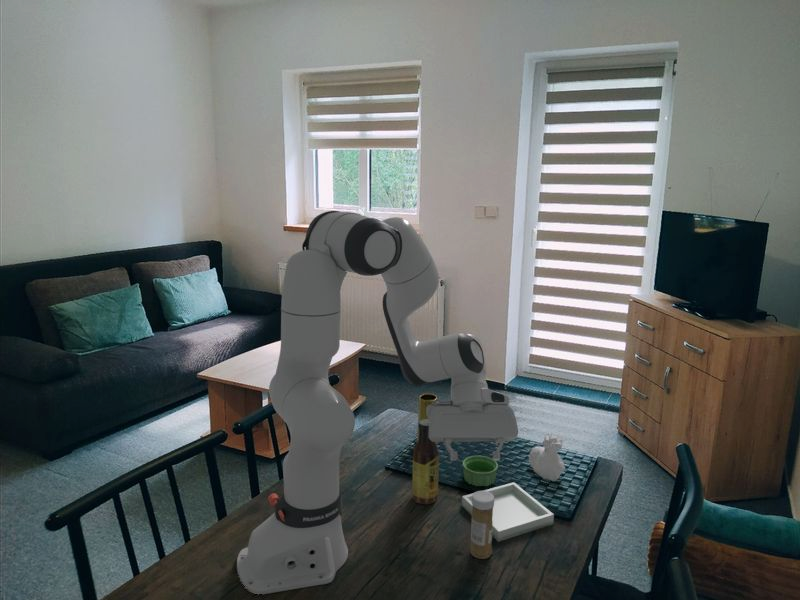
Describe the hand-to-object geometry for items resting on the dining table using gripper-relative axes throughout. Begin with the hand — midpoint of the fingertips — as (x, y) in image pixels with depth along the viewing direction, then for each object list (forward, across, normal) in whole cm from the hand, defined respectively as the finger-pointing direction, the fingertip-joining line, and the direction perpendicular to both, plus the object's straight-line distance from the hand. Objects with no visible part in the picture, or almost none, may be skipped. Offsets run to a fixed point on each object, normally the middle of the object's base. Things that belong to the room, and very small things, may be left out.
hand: (475, 460), depth 132 cm
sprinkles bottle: (+19, 0, +4) cm, 19 cm away
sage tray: (+9, +8, +13) cm, 18 cm away
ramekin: (-2, +5, +24) cm, 25 cm away
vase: (-16, -7, +38) cm, 42 cm away
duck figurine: (-4, +23, +26) cm, 35 cm away
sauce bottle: (+4, -10, +18) cm, 21 cm away
